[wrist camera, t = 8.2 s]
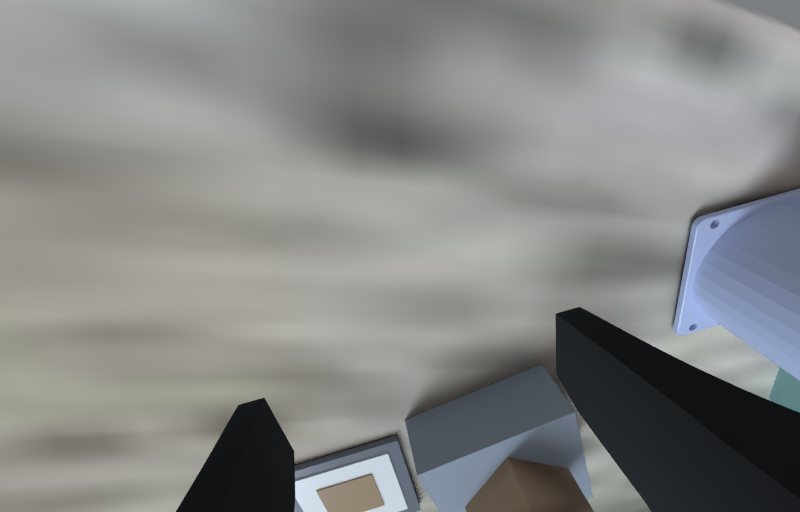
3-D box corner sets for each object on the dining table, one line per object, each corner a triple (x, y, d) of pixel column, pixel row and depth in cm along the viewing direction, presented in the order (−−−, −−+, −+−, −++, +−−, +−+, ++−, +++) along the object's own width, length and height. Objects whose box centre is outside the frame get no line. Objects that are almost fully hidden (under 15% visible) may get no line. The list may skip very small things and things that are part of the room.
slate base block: (539, 359, 24) (575, 411, 21) (560, 442, 29) (592, 496, 25) (403, 414, 25) (417, 475, 21) (445, 488, 29) (462, 548, 26)
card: (396, 435, 25) (398, 443, 24) (419, 504, 29) (421, 512, 28) (270, 472, 24) (269, 482, 24) (311, 537, 28) (311, 547, 28)
